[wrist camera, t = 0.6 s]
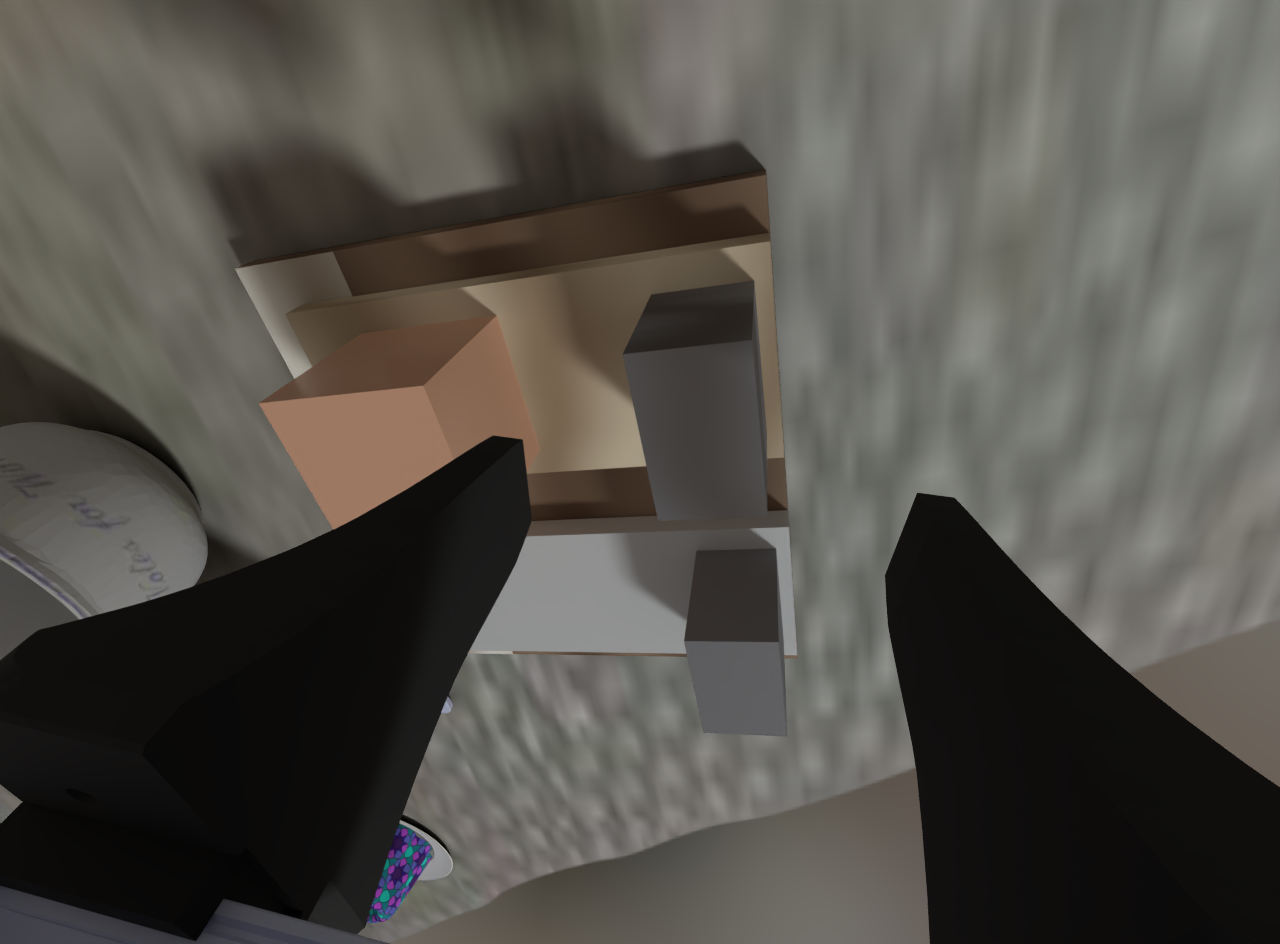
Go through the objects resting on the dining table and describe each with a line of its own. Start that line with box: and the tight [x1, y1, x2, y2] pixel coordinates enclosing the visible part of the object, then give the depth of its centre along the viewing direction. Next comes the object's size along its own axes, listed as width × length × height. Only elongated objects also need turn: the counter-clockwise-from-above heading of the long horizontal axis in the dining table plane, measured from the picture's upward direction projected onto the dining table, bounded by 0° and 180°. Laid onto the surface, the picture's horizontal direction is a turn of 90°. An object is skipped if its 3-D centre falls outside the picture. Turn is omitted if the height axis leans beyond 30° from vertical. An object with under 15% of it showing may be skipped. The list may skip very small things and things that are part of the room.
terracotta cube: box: [259, 315, 540, 530], centre depth 19 cm, size 5×5×5 cm
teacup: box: [0, 422, 208, 660], centre depth 26 cm, size 14×11×8 cm
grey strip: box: [470, 510, 797, 736], centre depth 24 cm, size 16×7×5 cm, turn 101°
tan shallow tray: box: [285, 233, 784, 521], centre depth 19 cm, size 16×7×5 cm, turn 101°
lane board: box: [235, 170, 797, 658], centre depth 24 cm, size 18×20×1 cm
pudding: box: [367, 820, 453, 923], centre depth 47 cm, size 12×12×5 cm
